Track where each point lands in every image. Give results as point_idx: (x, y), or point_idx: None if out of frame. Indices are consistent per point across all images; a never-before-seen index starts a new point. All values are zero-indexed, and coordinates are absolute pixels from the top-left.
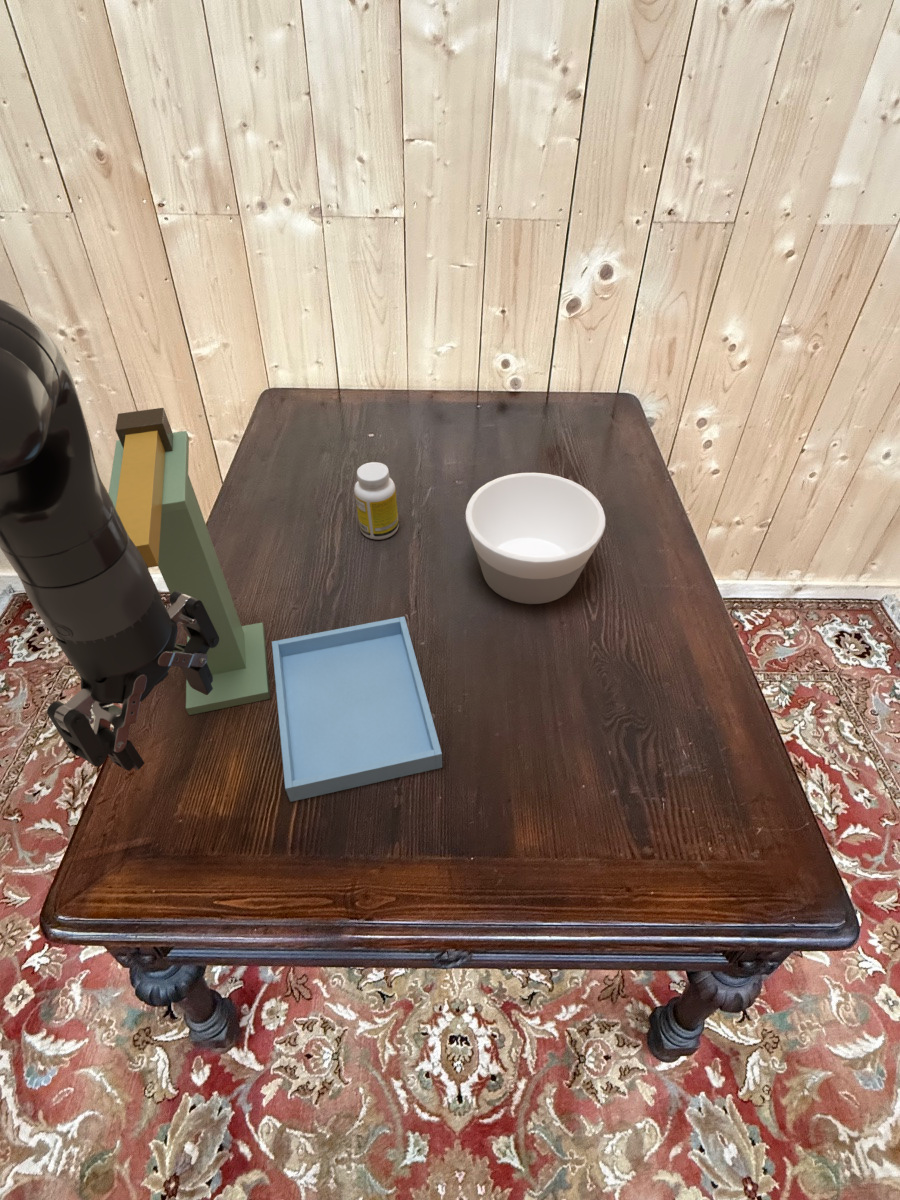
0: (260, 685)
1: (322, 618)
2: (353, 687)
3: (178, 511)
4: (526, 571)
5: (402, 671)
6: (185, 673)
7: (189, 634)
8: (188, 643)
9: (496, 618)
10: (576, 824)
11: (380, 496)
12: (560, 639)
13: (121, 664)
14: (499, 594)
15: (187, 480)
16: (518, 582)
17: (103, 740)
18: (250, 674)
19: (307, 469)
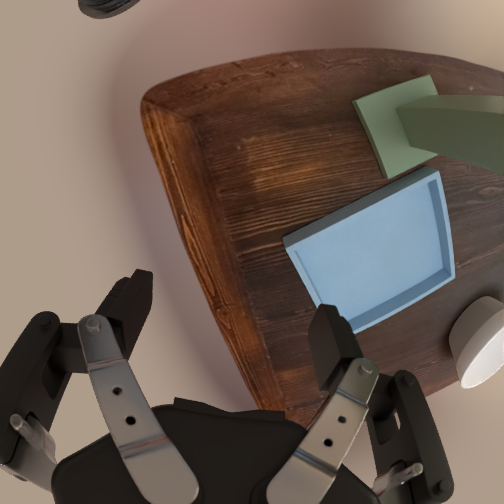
0: (394, 168)
1: (460, 195)
2: (398, 250)
3: None
4: (463, 360)
5: (411, 282)
6: (330, 334)
7: (394, 398)
8: (374, 396)
9: (444, 319)
10: (300, 389)
11: None
12: (422, 354)
13: None
14: (460, 315)
15: None
16: (460, 344)
17: (80, 366)
18: (404, 153)
19: None
